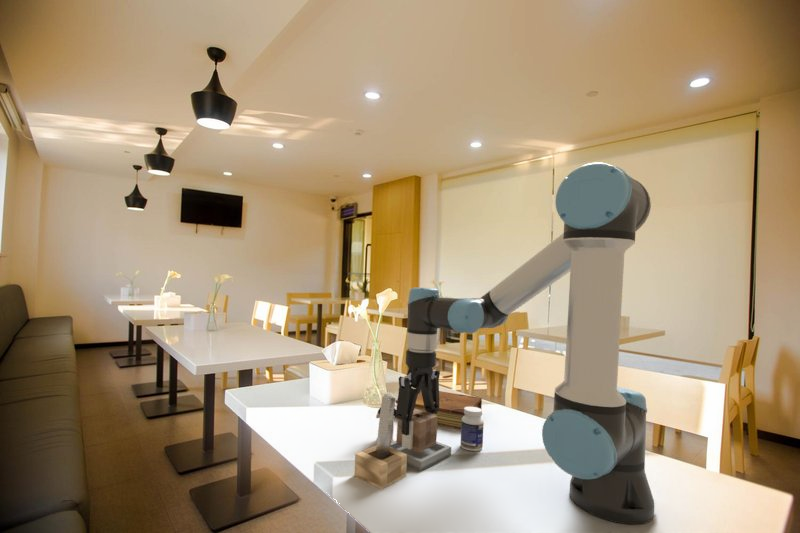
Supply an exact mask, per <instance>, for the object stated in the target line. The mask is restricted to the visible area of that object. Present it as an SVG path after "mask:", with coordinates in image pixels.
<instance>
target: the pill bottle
mask: <svg viewBox="0 0 800 533" xmlns="http://www.w3.org/2000/svg"><path fill="white" fill-rule="evenodd" d="M464 414H465V416H463V417H462V424H461V430H460V447H461V448H462V449H463V450H466V451H469V452H480V451H481V450H482V449H483V448H484V447H483V443H484V442H483V441H484V423H485V422H484V419H483V417H482V415H483V410H482V409H480V408H477V407H465V408H464Z"/></svg>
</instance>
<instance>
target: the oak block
mask: <svg viewBox="0 0 800 533" xmlns="http://www.w3.org/2000/svg"><path fill="white" fill-rule="evenodd" d="M376 446H377V444H376V445H373V446H371V447H369V448H366V449H363V450H361V451H358V452H356V453H355V454H354V457H355V458H354V475H355V476H354V475H353V476H354V477H356V476H357V478H358V479H360V480H362V481H364V482H366V483H368V484H370V485H371V486H374V487H375V488H378V489H380V490H382V489H384V488H386V487H388V486H389V485H392V484H394V483H395V482H398V481H399V480H401V479H403V478H405V477H407V466H408V465H407V454H405V453H402V452H400V451H398V450H395V449H393V448H390V453H389V457H388V458H386V459H383V460H380V459H377V458H375V455H376Z"/></svg>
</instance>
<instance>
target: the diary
mask: <svg viewBox="0 0 800 533" xmlns="http://www.w3.org/2000/svg"><path fill="white" fill-rule="evenodd" d="M414 389H416V388H414ZM395 400H396V401H395V404H397V402H398V398H397V399H395ZM482 402H483V399H482V397H480V396H472V395H466V394H460V393H454V392H447V391H441V390H439V409H435V410H438V412H437V414H434V413H433V415H436V416H438V418H437V426H441V427H446V428H449V429H454V430H455V429H456V430H460V431H461V424H462V417H463V416H465V414H464V408H465V407H477V408H480V409H482V408H483V406H482ZM434 403H435V402H434ZM414 409H418V410H421V411H425V407H424V402H423V397H422V392H421V391H420V393H419V394H418V396H417V400H416V404H415V407H414ZM425 412H426V411H425Z"/></svg>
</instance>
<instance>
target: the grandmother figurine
mask: <svg viewBox="0 0 800 533" xmlns="http://www.w3.org/2000/svg"><path fill="white" fill-rule="evenodd" d="M384 396H388V397H393V398H395V402H396V400H397V399H396V397H395V395H394V394H393V393H392V392H385V393H384V394H383V395H382V397H384ZM377 410H378V411H377V413H376V416H375V417H376V419H380V411H381V407H379V409H377ZM396 410H397V408H395V407H394V416H393V418H395V419H396V421H397V423H398V419H397V418H396ZM394 422H395V420H393V425H392V434H391V443H392V442H394V441H395V440H394V438H393V437H394V428H395V427H394V426H395V425H394Z"/></svg>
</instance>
